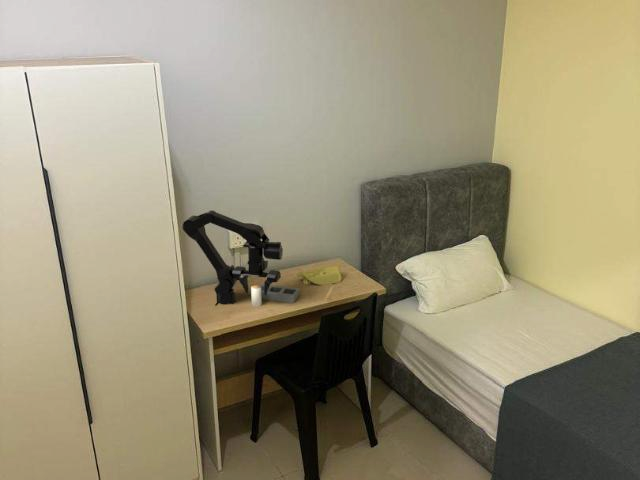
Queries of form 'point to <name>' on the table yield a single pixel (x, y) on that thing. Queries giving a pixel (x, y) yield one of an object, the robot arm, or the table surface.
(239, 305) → the table surface
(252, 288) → the plug
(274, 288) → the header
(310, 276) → the plastic component
